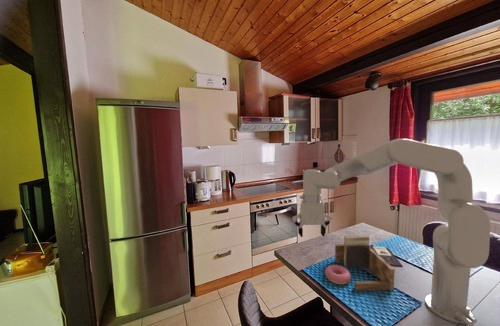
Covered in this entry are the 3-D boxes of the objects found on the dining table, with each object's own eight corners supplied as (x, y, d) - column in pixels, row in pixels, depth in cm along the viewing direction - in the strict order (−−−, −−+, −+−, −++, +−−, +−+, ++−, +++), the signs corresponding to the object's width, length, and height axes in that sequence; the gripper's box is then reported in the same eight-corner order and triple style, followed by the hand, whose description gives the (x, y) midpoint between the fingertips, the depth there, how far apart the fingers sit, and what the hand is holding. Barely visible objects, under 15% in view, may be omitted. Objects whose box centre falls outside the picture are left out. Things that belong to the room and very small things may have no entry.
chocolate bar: (382, 264, 106) (370, 246, 123) (382, 265, 106) (370, 247, 123) (402, 265, 104) (387, 247, 121) (402, 267, 104) (387, 248, 121)
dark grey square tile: (369, 267, 104) (370, 246, 103) (346, 268, 104) (347, 246, 103) (368, 266, 105) (368, 245, 103) (345, 267, 105) (346, 245, 103)
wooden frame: (393, 289, 89) (395, 255, 87) (356, 290, 89) (357, 256, 87) (365, 259, 110) (366, 232, 109) (335, 260, 110) (335, 233, 109)
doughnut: (350, 289, 90) (350, 280, 89) (323, 282, 95) (323, 273, 94) (351, 274, 99) (351, 266, 99) (326, 268, 104) (326, 260, 104)
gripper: (293, 200, 89) (294, 239, 91) (335, 199, 89) (334, 238, 91) (290, 196, 97) (290, 232, 99) (328, 195, 97) (328, 231, 99)
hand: (311, 235), depth 95 cm, fingers open, 9 cm apart
